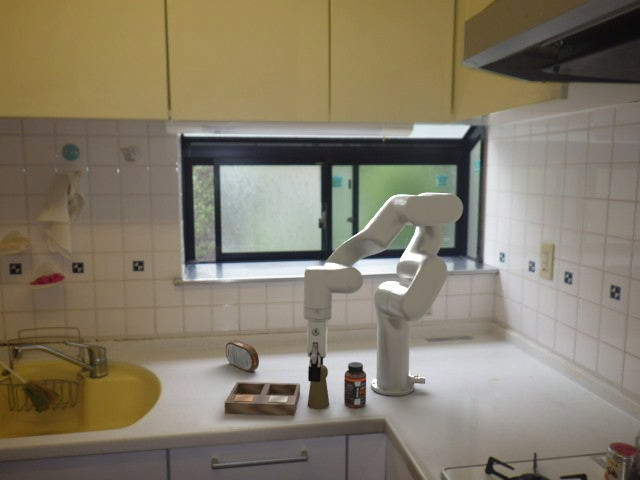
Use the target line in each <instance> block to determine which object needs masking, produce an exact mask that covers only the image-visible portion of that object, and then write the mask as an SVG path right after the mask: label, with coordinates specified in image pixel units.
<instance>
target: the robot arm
mask: <svg viewBox="0 0 640 480" xmlns="http://www.w3.org/2000/svg"><path fill="white" fill-rule="evenodd" d="M463 212H464V204H463V202H462V200H461V199H460V197H459V196H457V195H456V194H453V193H444V192H443V193H442V192H423V193H420V194H418V195H417V194H416V195H415V194H396V195H393V196H391V197H390V198H388V200H386V202H385V203H384V204H383V206H382V207H380V209H379V210H378V211H377V212H376V214H375V215H374V216H373V218H372V219H371V220H370V221H369V222H368V223H367V224H366V225H365V227H364V228H363V229H362V230H361V231H359V232H358V233H357V234H355V235H353V236H352V237H350V238H349V239H347V240H346V241H344V242H342V243H341V244H340V245H339V246H338V247H337V248H336V249H335V250H334V251H332V254H331V255H330V256H329V257H328V258H327V259H326V260H325V262H324V263H323V264H322V265H312V266H308V267H306V268H305V270H304V275H303V276H304V279H303V286H304V287H303V315H302V316H303V319H304V320H306V321H307V324H306V325H307V326H306V327H307V329H306V331H307V332H306V333H307V334H306V337H307V338H306V341H307V342H306V343H307V345H306V346H307V348H306V349H307V357H308V358H309V362H308V363H309V364H308V367H307V368H308V372H307V373H308V375H307V376H308V377H307V379H308V380H307V381H308V382H320V380H321V366H320V365H324V359H325V358H327V353H328V338H329V337H328V332H329V331H328V330H329V328H328V327H329V326H328V325H329V323H328V321H330V320H332V313H333V312H332V311H333V309H332V306H333V305H332V304H333V294H340V295H351V294H355V293H357V292H358V291H360V290H361V288H362V286H363V283H364V278H363V277H364V275H362V272H361V271H360V270H359V269H357V268H356V267H354V266H355V264H356V263H358V262H359V261H361V260H363V259H364V258H367V257H370V256H372V255H377V254H379V253H382V252H384V251H386V250H388V248H389V247H390V245H391V244H392V243H393V242H394V241H395V239H396V238H397V237H398V236H399V235H400V233H401V232H402V231H403V229H404V228H405V227H406V226H410V227H415V230H414V231H415V232H414V234H413V236H412V238H411V240H410V242H409V243H408V246H407V247H406V249H405V250H404V252H403V253H402V255H401V256H400V259H399V260H398V263H397V264H396V271H395V272H396V274H397V276H398V277H399V278H400V280H402V281H404V282H407V283H409V285H408V284H406V283H403V282H398V281H393V280H392V281H391V280H390V281H385V282H382V283H381V284H379V285H378V287H377V288H376V289H375V292H374V296H373V301H374V303H373V304H374V308H375V309H374V310H375V314H376V315H375V316H376V376H375V378H374V379H372V380H371V382H370V387H371V389H372V390H373V391H375V392H376V393H378V394H381V395H384V396H393V397H394V396H395V397H396V396H398V397H399V396H405V395H408V394H411V393H413V391H414V390H415V384H419V385H425V384H426V377H425V376H422V377H421V375H420V374H412V373H411V372H410V347H411V346H410V339H411V327H410V323H418V322H419V321H421V320H422V319H423V318H424V317H425V316H427V314H428V312H429V311H430V309H431V308H432V306H433V304H434V303H435V301H436V299H437V297H438V296H439V294H440V292H441V290H442V289H443V287H444V285H445V283H446V281H447V277H448V265H447V263H446V261H445V260H444V259H443V258H442V257H441V256H439V255H437V254H438V253H439V251H440V249H441V247H442V245H443V237H444V236H443V235H444V234H443V230H442V225H443V226H445V225H451V224H453V223H455V222H458V220H459V219H460V218H461V216H462V214H463Z"/></svg>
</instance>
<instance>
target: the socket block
mask: <svg viewBox="0 0 640 480" xmlns="http://www.w3.org/2000/svg"><path fill="white" fill-rule="evenodd" d="M300 395H301V383H298V382H297V383H295V382H293V383H291V382H290V383H289V382H257V381H255V382H252V381H236V383H235V384H234V386H233V388H232V389H231V391H230V393H229V395H228V396H227V398H226V400H225V401H224V414H225V415H226V414H227V415H228V414H231V415H233V414H234V415H259V416H260V415H263V416H293V417H294V416H295V414H296V411H297V406H298V403H299V400H300Z"/></svg>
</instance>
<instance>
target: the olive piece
mask: <svg viewBox="0 0 640 480" xmlns="http://www.w3.org/2000/svg"><path fill="white" fill-rule="evenodd" d="M320 366H321V380H320V382H311V381H309V382H310V384H309V392H308V397H307V399H308V400H307V407H308V408H309V409H312V410H318V411H319V410H325V409H328V408H329V407H330V399H329V391H328V384H327V377H328V375H329V370H328V368H327V366H325V365H324V364H323V365H320Z"/></svg>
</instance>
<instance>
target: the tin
mask: <svg viewBox="0 0 640 480" xmlns="http://www.w3.org/2000/svg"><path fill="white" fill-rule="evenodd" d="M225 354H226V355H225V356H226V359H227V361H228V362H229V364H230V365H231V366H233V367H236V368H237V369H240V370H242V371H244V372H247V373H249V372H252V371H256V370H257V369H258V368H259V364H260V359H259V353H258V351H257V350H256V349H255V348H254V347H253V346H252V345H251V344H248V343H245V342H243V341H240V340H237V339H234V340H232V341H230V342H229V341H228V342H227V344H226V345H225Z"/></svg>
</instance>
